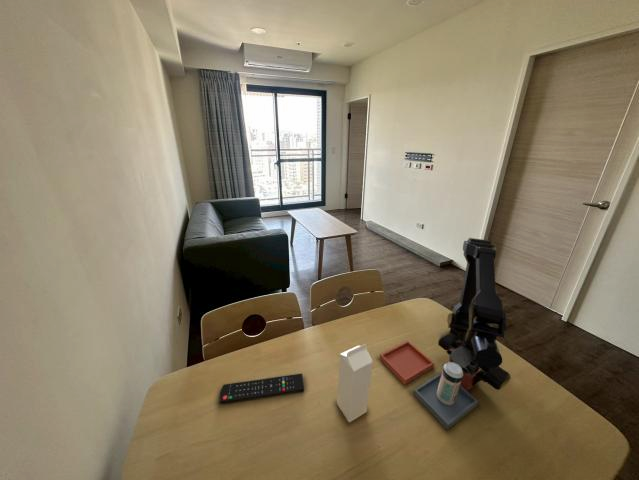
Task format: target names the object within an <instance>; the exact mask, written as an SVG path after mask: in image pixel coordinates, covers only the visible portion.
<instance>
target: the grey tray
mask: <svg viewBox="0 0 639 480" xmlns="http://www.w3.org/2000/svg"><path fill="white" fill-rule="evenodd" d="M441 375H442V371H441V372H439V373H438V374H436V375H434V376H433V377H431V378H430V379H428V380H427V381H425V382H423V383H422V384H421V385H418V386H417V387H416V388H413V393H412V394H413V396H414V397H415V398H416V399H417V400H418V401H419V402H420V403H421V404H422V405H423V406H424V408H425V409H426V410H427V411H428V412H429V413H430V414H431V415H432V416H433V417H434V418H435V419H436V420H437V421H438V422H439V423H440V424H441V425H442V426H443V428H444V429H446V430H447V431H448V430H449V429H450V428H452V427H453V426H454V425H455V424H457V422H459V421H460V420H461V419H462V418H464V417H465V416H466V415H468V414H469V413H470V412H471V411H473V409H475V408H476V407H477V406H478V404H479V399H477V398H475V396H473V395H472V394H471V393H470V392H469V391H468V390H465V389H464V388H463V387H462V386H461V385H460V386H459V390H458V393H457V396H456V399H455V402H454V404H452V405H446V404H444V403H442V402H441V401H440V400H439V399H438V397H437V389H438V386H439V382H440V378H441Z"/></svg>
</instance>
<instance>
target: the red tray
mask: <svg viewBox="0 0 639 480" xmlns="http://www.w3.org/2000/svg"><path fill="white" fill-rule="evenodd" d="M379 360H380V361H381V362H382V363H383V364H384V365H385V366H386V367H387V369H389V371H390V372H391V373H392V374H393V375H394V376H395V377H396V378H397V379H398V380H399V381H400V382H401V384H403V385H404V386H405V385H407V384H409V383H410V382H412V381H414V380H415V379H417V378H418V377H420V376H422V375H424V374H425V373H427V372H429V371H430V370H432V369H434V366H435V363H434V362H433V361H432V360H431V359H430V358H429V357H428V356H426V354H424V353H423V352H422V351H421V350H419V349H418V348H417V347H416V346H415V345H413V343H412V342H410V341H409V340H407V341H404V342H402V343H400V344H399V345H396V346H395V347H393V348H391V349H388V350H386V351H385V352H382V353H381V354H380V355H379Z"/></svg>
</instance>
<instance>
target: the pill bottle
mask: <svg viewBox="0 0 639 480" xmlns="http://www.w3.org/2000/svg"><path fill="white" fill-rule="evenodd" d="M441 372H442V375H441V378H440V382H439V386H438V389H437V397H438V399H439V400H440V401H441V402H442V403H444V404H446V405H452V404H454V402H455V399H456V396H457V393H458V390H459V386H461V385H460V383H461V380H462V377H463V371H462V368H461V367H460V366H459V365H458V364H456V363H454V362H450V361H448V362H446V363H445V364H444V365H443V367H442V371H441Z"/></svg>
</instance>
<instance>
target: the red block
mask: <svg viewBox="0 0 639 480" xmlns="http://www.w3.org/2000/svg"><path fill="white" fill-rule="evenodd" d="M479 371H480V369H479V370H478V371H477V372H476V373H478V372H479ZM476 373H475V374H476ZM475 374H474V375H471V374H467V373H465V374H463V377H462V380H461V383H460V386H461V387H463V388H464V389H465V390H466V391H469V390H470V389H472V388H473V387H474V386H472V383H473V381H474V379H475V377H476V375H475Z"/></svg>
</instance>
